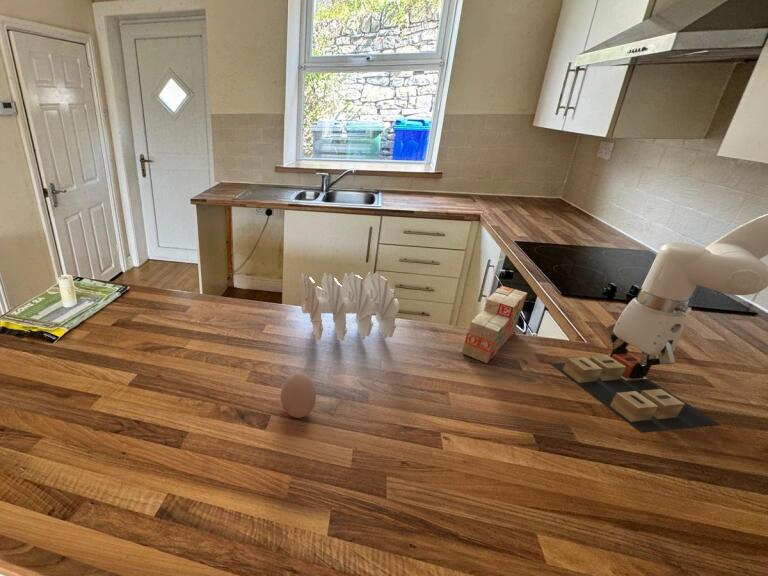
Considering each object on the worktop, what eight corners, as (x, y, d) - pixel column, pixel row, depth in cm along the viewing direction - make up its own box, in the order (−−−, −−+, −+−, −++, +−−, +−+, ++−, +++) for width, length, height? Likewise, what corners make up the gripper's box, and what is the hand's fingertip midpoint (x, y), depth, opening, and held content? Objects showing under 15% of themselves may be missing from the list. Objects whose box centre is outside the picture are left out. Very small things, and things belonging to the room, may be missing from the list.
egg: (291, 398, 84) (293, 359, 80) (319, 411, 81) (324, 372, 77) (273, 416, 79) (275, 377, 75) (303, 432, 76) (307, 391, 72)
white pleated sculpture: (392, 353, 107) (301, 354, 104) (376, 300, 118) (292, 299, 115) (421, 313, 93) (316, 312, 90) (399, 258, 104) (305, 255, 101)
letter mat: (615, 360, 98) (616, 358, 98) (719, 426, 79) (721, 424, 78) (549, 365, 96) (550, 363, 96) (639, 435, 76) (641, 432, 76)
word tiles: (602, 367, 95) (608, 354, 93) (676, 417, 80) (685, 403, 78) (562, 370, 93) (567, 357, 92) (630, 421, 79) (638, 407, 77)
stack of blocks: (487, 364, 96) (502, 320, 91) (460, 353, 100) (473, 310, 95) (514, 332, 110) (528, 292, 104) (489, 323, 114) (502, 284, 108)
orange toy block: (623, 365, 95) (629, 352, 94) (642, 377, 91) (649, 364, 90) (607, 366, 95) (613, 354, 93) (625, 378, 91) (631, 365, 89)
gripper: (722, 320, 78) (677, 393, 86) (636, 283, 93) (605, 349, 101) (689, 321, 77) (647, 396, 85) (608, 284, 92) (579, 350, 100)
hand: (625, 369), depth 93 cm, fingers closed on orange toy block, 4 cm apart
